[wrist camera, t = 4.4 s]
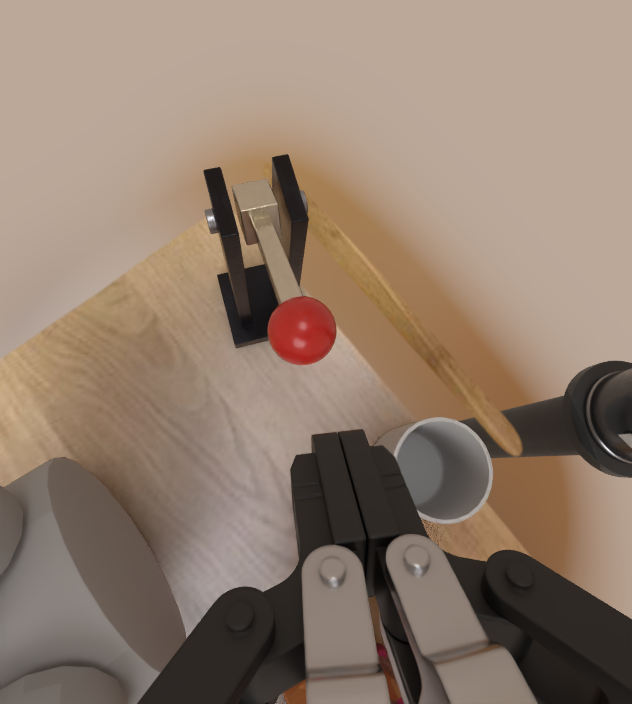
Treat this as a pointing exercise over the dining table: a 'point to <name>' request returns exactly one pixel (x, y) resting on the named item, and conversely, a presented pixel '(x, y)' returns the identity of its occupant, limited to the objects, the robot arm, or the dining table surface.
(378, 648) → the mug
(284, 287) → the power lever
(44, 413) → the dining table surface
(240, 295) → the switch bracket
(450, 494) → the cup
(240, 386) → the dining table surface
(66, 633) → the alarm clock
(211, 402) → the dining table surface
